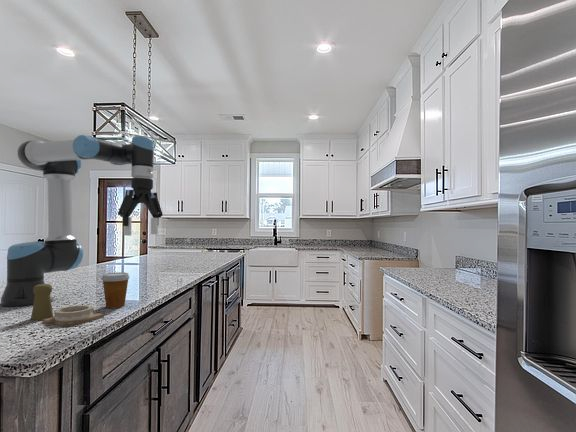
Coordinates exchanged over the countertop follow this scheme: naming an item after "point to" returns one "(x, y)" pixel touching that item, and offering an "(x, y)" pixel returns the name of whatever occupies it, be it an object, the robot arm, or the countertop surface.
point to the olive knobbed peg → (42, 302)
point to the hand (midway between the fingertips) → (141, 235)
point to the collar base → (72, 323)
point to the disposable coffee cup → (115, 288)
